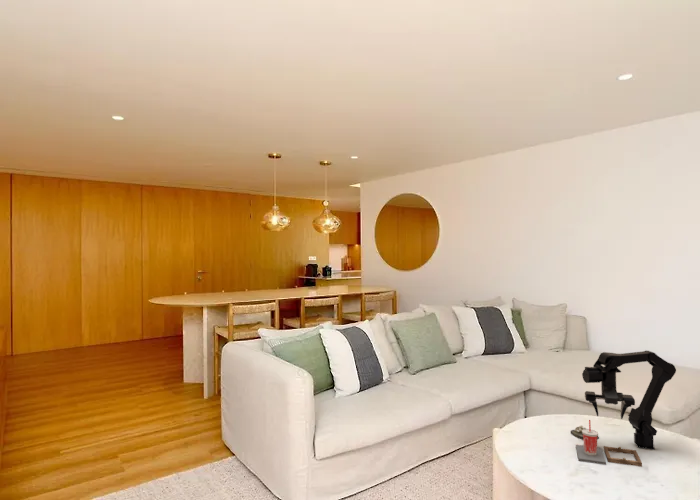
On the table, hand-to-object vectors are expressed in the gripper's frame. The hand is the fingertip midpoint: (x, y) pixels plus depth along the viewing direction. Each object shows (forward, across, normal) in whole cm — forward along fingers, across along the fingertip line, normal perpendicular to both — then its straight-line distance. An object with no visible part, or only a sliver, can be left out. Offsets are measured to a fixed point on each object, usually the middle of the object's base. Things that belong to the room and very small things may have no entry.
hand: (609, 417), depth 197 cm
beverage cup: (+12, -9, -12) cm, 19 cm away
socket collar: (+13, +3, -10) cm, 17 cm away
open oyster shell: (+14, -9, +9) cm, 19 cm away
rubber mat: (+13, -9, -12) cm, 20 cm away
